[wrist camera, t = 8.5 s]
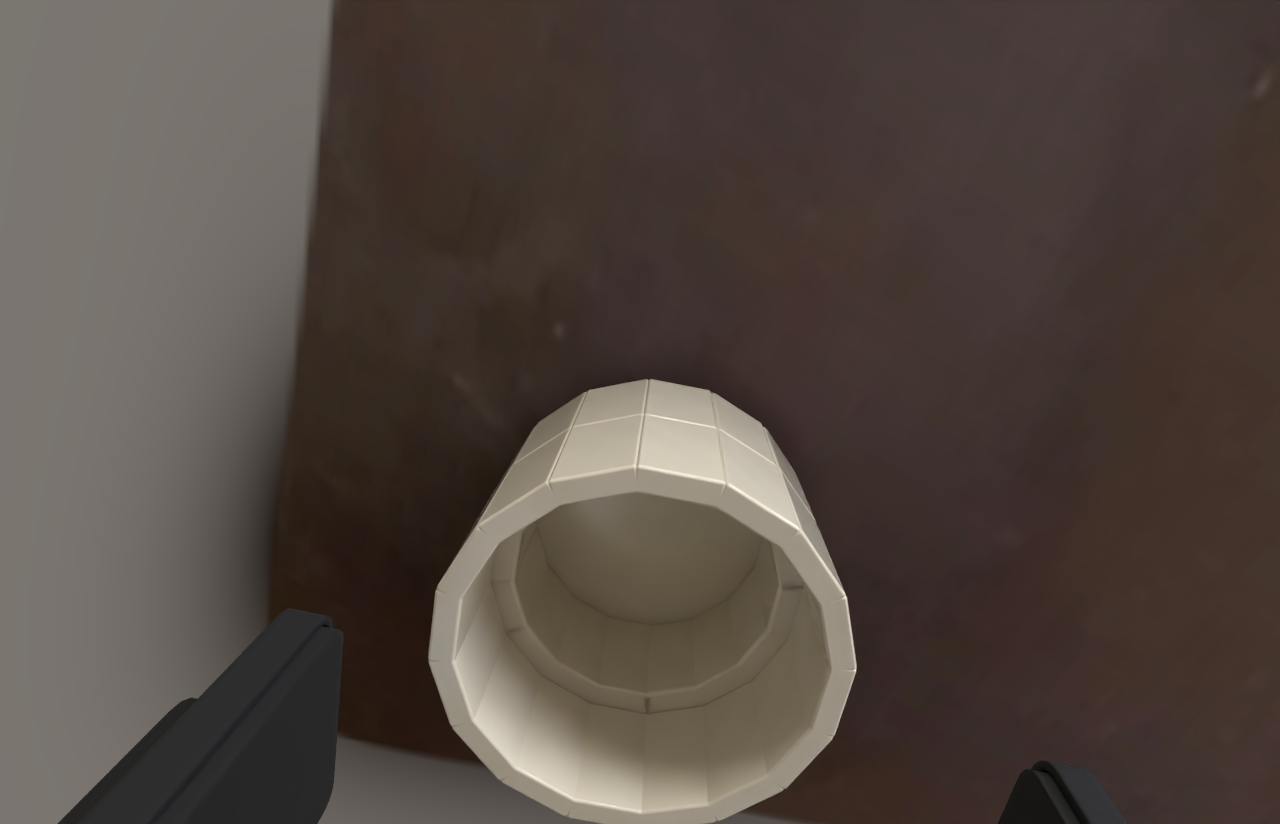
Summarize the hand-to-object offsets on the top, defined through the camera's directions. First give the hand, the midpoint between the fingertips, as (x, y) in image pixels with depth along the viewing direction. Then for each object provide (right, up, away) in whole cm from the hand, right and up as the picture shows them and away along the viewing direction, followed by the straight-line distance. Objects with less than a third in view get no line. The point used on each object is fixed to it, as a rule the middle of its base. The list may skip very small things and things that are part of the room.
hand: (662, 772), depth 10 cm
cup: (0, +2, +7) cm, 8 cm away
